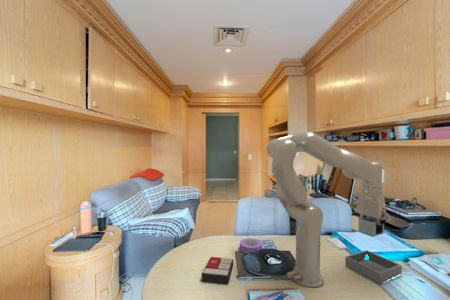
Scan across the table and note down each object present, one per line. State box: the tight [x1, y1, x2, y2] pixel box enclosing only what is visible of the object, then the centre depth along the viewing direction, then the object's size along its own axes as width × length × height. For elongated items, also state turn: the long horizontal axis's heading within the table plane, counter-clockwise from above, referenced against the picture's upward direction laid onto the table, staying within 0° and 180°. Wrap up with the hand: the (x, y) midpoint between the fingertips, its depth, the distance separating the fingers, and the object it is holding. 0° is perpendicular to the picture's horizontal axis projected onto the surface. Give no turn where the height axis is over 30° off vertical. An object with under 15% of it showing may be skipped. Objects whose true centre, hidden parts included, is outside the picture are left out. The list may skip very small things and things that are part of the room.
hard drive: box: [326, 237, 347, 251], centre depth 125 cm, size 2×8×12 cm
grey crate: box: [344, 249, 403, 286], centre depth 99 cm, size 15×15×4 cm
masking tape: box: [239, 237, 263, 254], centre depth 119 cm, size 12×12×4 cm
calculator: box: [201, 256, 234, 286], centre depth 98 cm, size 11×4×15 cm
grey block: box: [358, 216, 385, 238], centre depth 99 cm, size 8×6×6 cm
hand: (371, 230), depth 99 cm, fingers closed on grey block, 6 cm apart
